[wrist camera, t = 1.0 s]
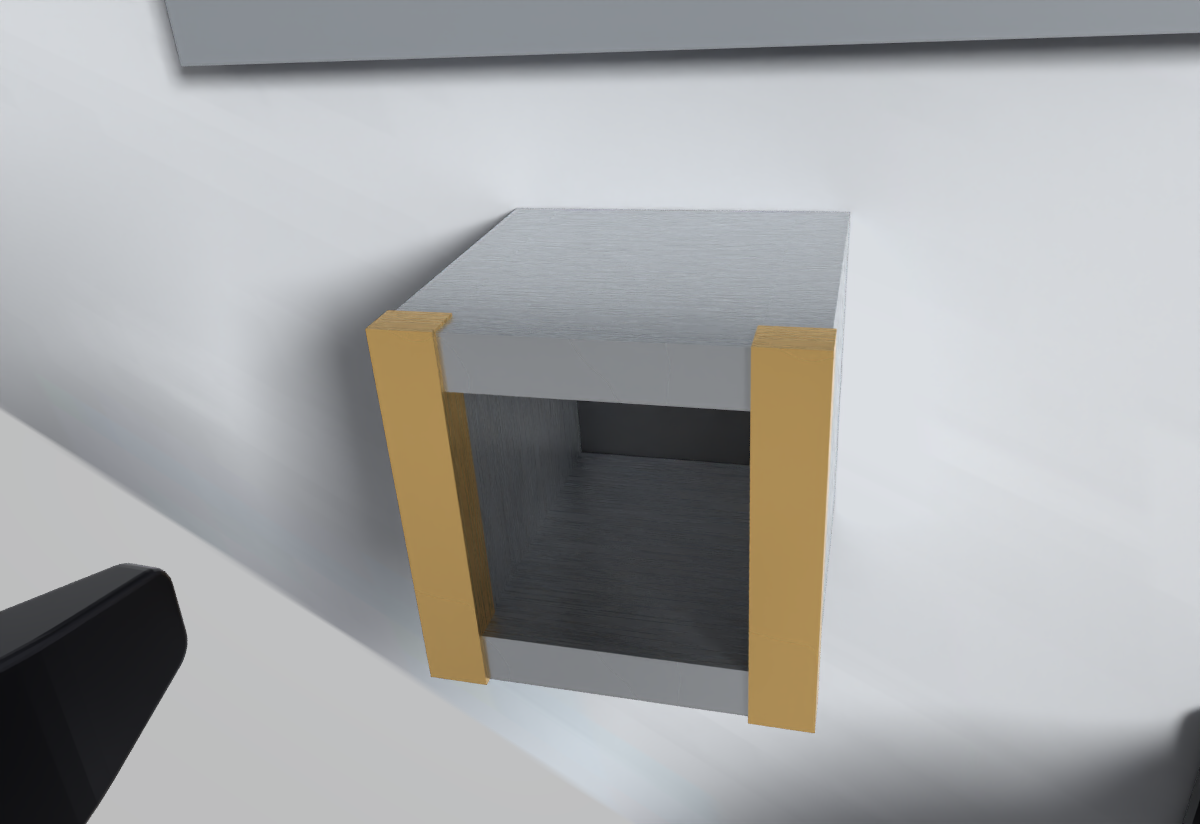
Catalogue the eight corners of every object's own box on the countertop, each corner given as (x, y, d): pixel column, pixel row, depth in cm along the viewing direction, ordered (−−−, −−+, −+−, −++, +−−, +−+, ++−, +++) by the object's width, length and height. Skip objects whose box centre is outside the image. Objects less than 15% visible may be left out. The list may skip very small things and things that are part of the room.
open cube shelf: (836, 512, 20) (814, 733, 15) (543, 486, 21) (431, 676, 16) (853, 209, 17) (833, 350, 12) (513, 206, 19) (365, 329, 13)
